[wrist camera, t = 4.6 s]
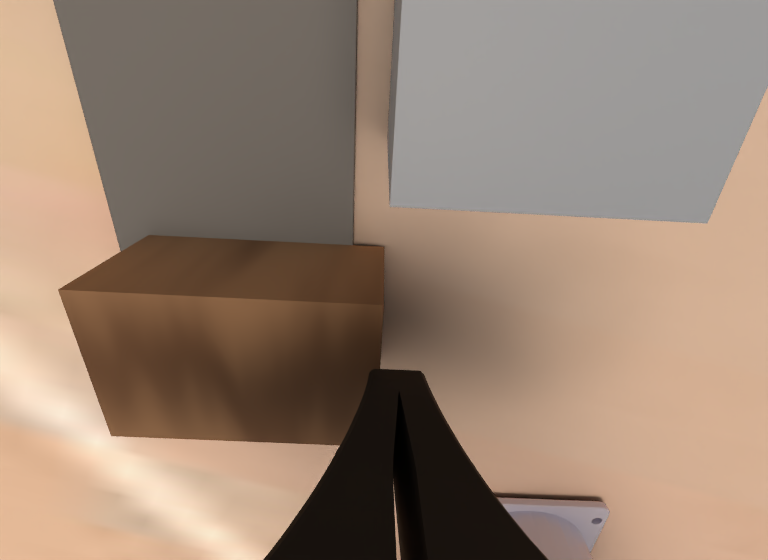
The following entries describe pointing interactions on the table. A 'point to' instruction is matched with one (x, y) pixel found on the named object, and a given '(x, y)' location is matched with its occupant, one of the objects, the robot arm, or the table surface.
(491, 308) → the table surface
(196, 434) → the walnut block
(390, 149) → the slate block
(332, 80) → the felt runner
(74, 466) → the table surface
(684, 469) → the table surface
